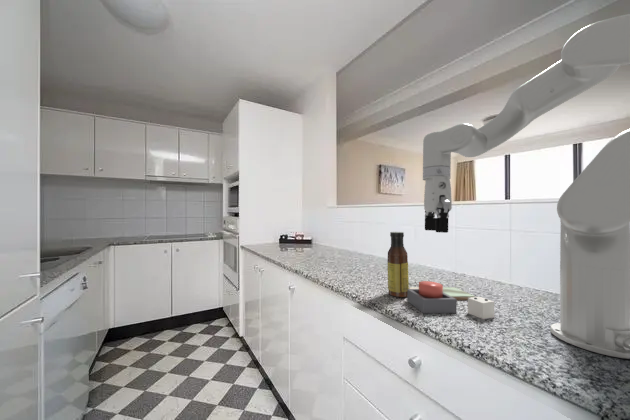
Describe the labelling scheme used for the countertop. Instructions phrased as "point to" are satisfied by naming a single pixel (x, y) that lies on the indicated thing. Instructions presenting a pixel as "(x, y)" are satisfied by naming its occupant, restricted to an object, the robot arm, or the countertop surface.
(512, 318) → the countertop surface
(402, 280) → the sauce bottle
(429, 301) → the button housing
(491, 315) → the die
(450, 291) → the board
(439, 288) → the dome button
